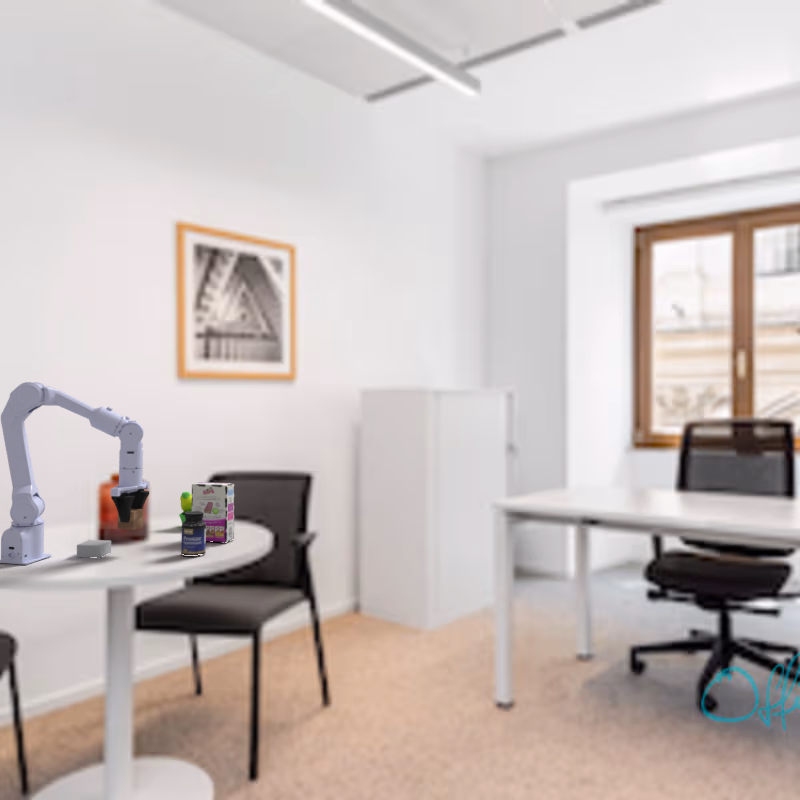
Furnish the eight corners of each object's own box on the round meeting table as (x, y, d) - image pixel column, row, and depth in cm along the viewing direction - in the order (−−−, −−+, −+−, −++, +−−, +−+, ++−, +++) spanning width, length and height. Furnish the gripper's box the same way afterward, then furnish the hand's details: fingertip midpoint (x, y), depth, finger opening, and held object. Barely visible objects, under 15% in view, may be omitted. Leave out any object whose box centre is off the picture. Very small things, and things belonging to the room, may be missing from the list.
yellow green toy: (203, 531, 213) (203, 494, 213) (174, 531, 213) (174, 494, 213) (213, 524, 225) (214, 489, 225) (185, 524, 225) (186, 488, 225)
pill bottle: (180, 558, 180) (181, 514, 179) (181, 552, 185) (182, 510, 185) (205, 556, 181) (206, 514, 181) (205, 551, 187) (206, 510, 187)
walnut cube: (133, 529, 180) (133, 512, 180) (117, 528, 181) (117, 511, 181) (143, 526, 185) (143, 509, 185) (127, 525, 186) (127, 508, 185)
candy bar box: (234, 540, 202) (235, 483, 201) (226, 543, 197) (227, 485, 197) (199, 537, 204) (200, 481, 204) (190, 541, 199) (191, 483, 199)
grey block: (99, 559, 178) (99, 545, 178) (76, 558, 178) (76, 544, 178) (111, 553, 184) (111, 540, 184) (88, 553, 184) (88, 539, 184)
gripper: (128, 471, 175) (128, 526, 175) (159, 465, 189) (159, 516, 189) (103, 470, 176) (102, 524, 176) (136, 464, 190) (135, 515, 191)
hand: (130, 520), depth 183 cm, fingers closed on walnut cube, 4 cm apart
